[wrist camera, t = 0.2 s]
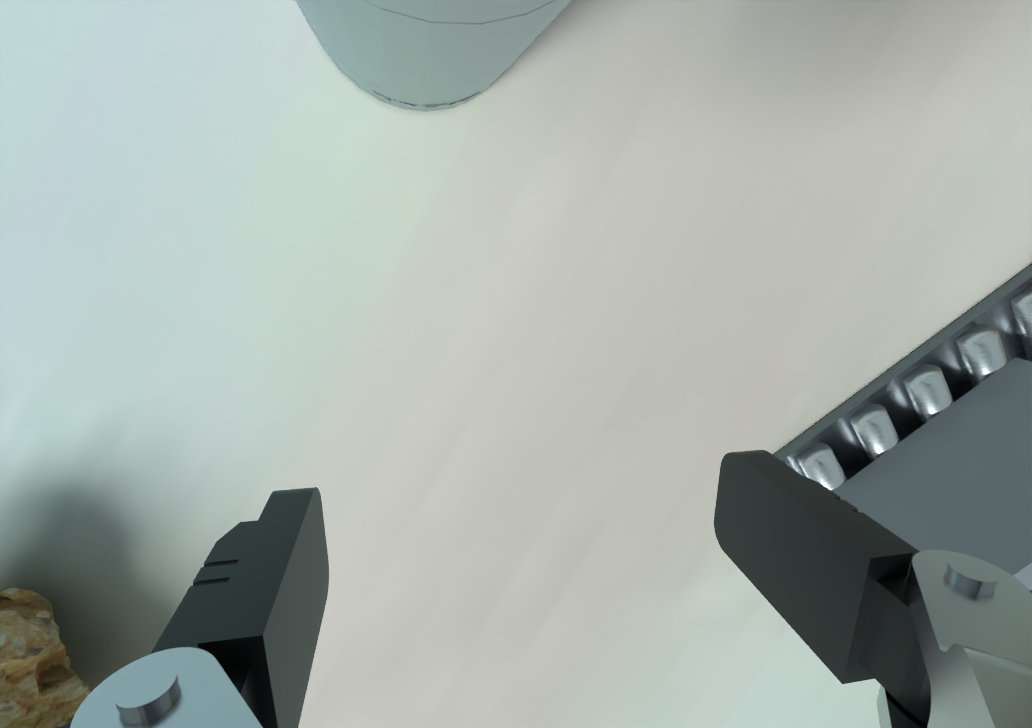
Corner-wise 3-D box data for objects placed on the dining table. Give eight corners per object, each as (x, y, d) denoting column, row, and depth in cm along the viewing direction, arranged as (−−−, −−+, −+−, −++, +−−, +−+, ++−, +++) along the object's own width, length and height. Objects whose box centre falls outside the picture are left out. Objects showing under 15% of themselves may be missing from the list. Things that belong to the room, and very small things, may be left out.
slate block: (861, 559, 35) (1004, 678, 27) (825, 496, 33) (971, 605, 24) (1038, 430, 34) (1241, 511, 26) (1015, 357, 32) (1232, 419, 24)
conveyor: (769, 457, 34) (795, 477, 32) (1072, 233, 33) (1120, 237, 31) (836, 568, 38) (862, 592, 36) (1104, 373, 37) (1148, 386, 35)
